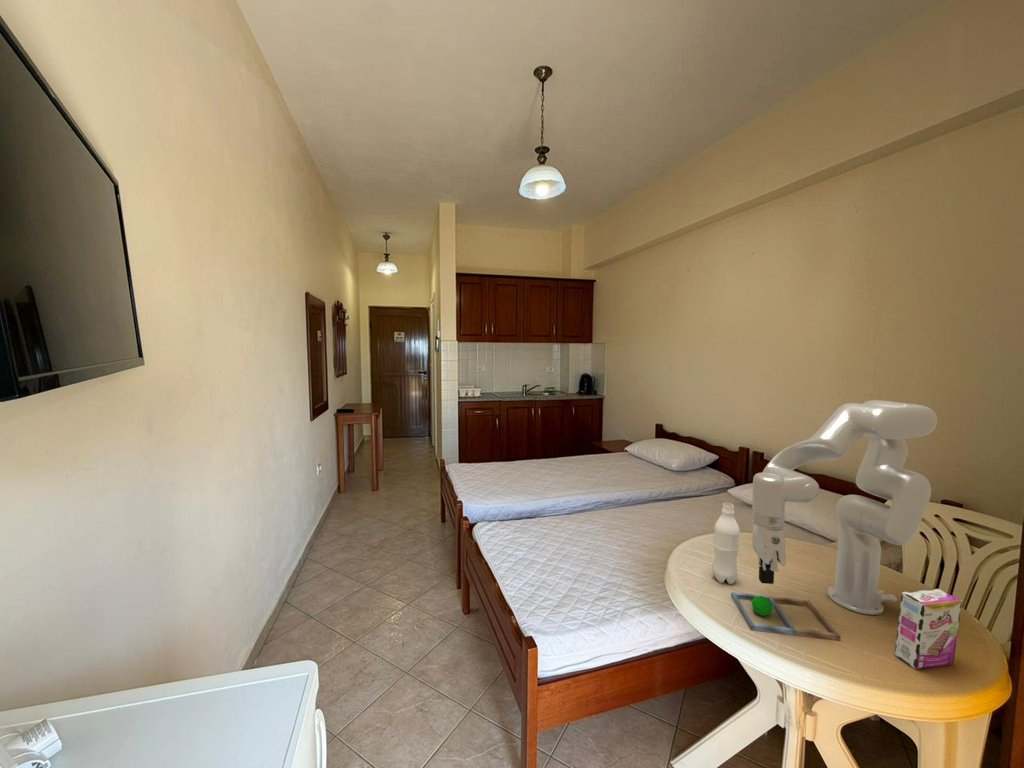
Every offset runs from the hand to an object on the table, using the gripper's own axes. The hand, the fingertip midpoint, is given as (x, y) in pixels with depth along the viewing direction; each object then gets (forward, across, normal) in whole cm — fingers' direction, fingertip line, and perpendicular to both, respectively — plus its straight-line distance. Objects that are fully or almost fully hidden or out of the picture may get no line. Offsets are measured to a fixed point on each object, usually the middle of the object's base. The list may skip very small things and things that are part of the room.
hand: (766, 581), depth 112 cm
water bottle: (+10, +16, +6) cm, 20 cm away
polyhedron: (+10, 0, +1) cm, 10 cm away
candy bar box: (+11, -12, -30) cm, 34 cm away
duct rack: (+10, 0, -4) cm, 10 cm away
